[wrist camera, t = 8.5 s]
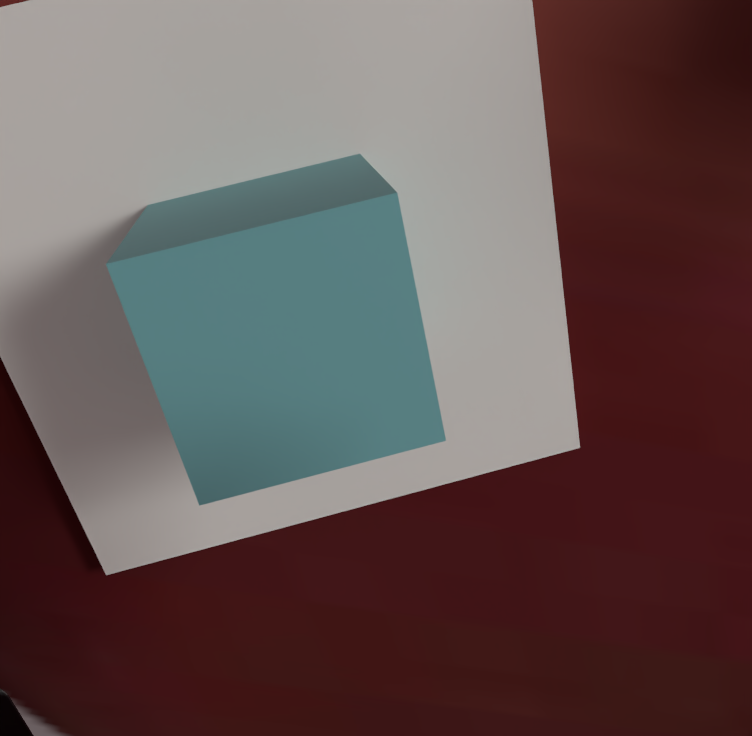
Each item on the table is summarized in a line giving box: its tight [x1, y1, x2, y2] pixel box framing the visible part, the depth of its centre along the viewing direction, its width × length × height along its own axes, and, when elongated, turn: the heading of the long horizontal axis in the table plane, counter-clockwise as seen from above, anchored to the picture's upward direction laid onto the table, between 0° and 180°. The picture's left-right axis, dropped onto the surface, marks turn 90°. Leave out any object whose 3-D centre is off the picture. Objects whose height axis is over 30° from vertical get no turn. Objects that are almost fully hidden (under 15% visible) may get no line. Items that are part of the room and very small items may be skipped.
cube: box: [106, 154, 446, 506], centre depth 15 cm, size 5×5×5 cm
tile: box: [0, 0, 580, 575], centre depth 18 cm, size 14×14×1 cm
